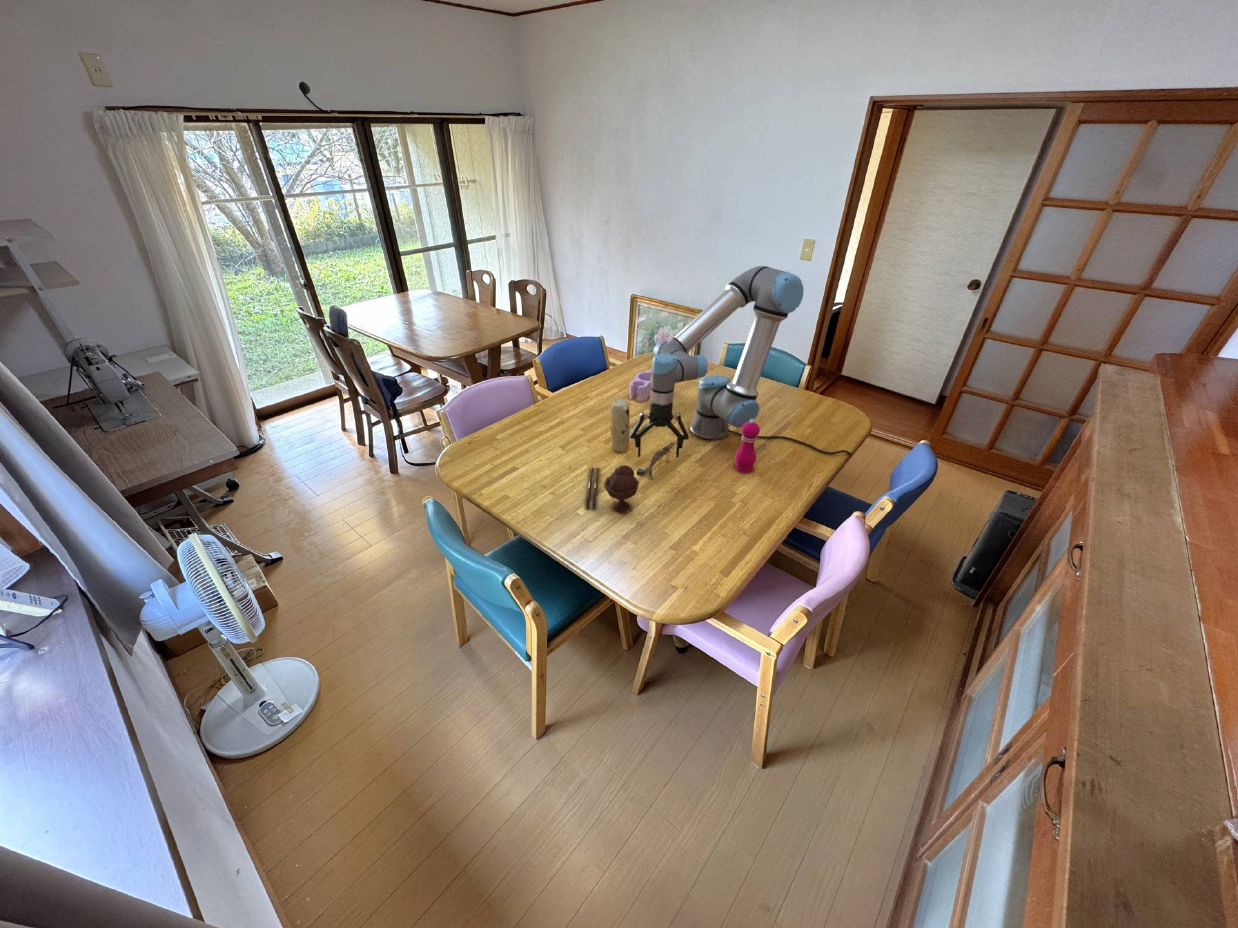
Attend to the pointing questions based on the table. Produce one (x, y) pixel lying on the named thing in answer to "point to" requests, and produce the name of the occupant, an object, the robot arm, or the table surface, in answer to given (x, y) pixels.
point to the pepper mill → (747, 447)
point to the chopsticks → (594, 488)
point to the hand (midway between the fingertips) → (658, 455)
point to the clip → (641, 386)
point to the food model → (620, 425)
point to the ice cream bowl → (622, 487)
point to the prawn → (656, 459)
